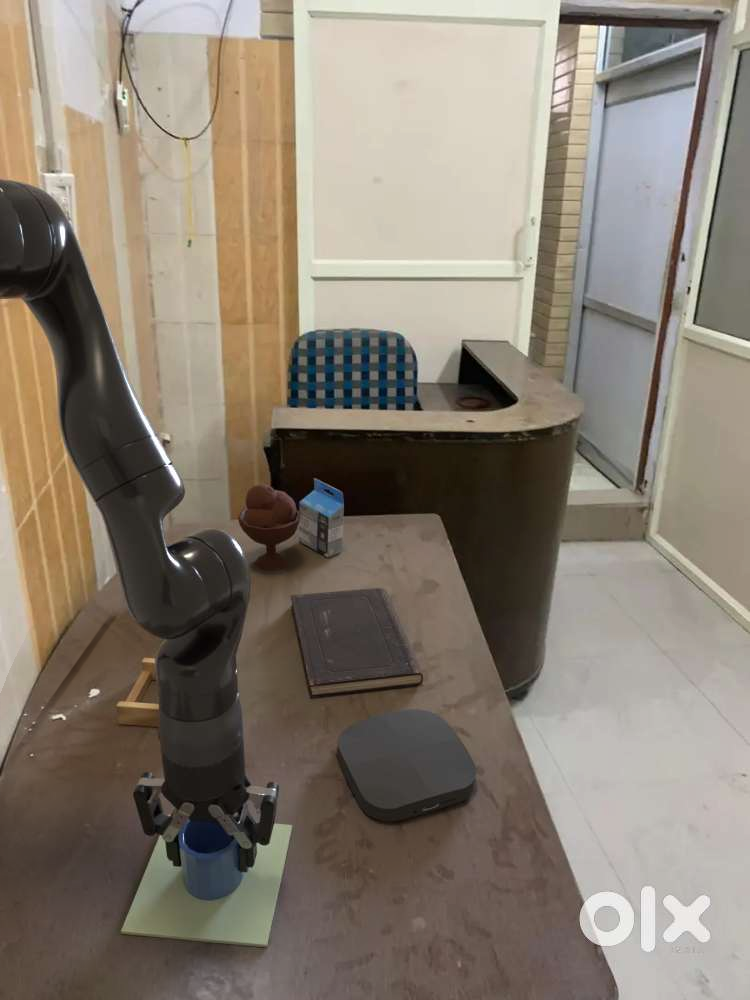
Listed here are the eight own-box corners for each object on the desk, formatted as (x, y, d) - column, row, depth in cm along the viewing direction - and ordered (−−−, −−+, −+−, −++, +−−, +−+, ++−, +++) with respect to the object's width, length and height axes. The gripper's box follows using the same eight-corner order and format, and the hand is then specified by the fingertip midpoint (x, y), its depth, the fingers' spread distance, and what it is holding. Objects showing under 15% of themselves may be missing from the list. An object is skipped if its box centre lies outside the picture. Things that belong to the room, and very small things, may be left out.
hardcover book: (309, 698, 104) (309, 684, 103) (290, 607, 124) (290, 595, 123) (422, 685, 107) (423, 672, 106) (386, 598, 128) (386, 587, 127)
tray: (118, 724, 98) (116, 705, 97) (146, 674, 107) (144, 657, 106) (211, 731, 97) (210, 713, 96) (231, 681, 107) (230, 663, 105)
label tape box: (297, 541, 145) (297, 482, 140) (314, 535, 148) (314, 477, 142) (327, 559, 139) (327, 498, 134) (344, 552, 142) (345, 492, 137)
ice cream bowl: (256, 583, 131) (253, 504, 124) (231, 555, 139) (227, 480, 133) (311, 568, 136) (311, 492, 130) (284, 542, 144) (282, 469, 138)
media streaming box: (328, 743, 96) (328, 725, 95) (432, 717, 101) (433, 699, 100) (370, 832, 84) (371, 812, 83) (486, 797, 89) (489, 778, 88)
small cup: (174, 897, 75) (169, 854, 73) (193, 846, 81) (189, 804, 79) (236, 903, 75) (233, 860, 73) (250, 850, 81) (248, 809, 78)
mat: (121, 933, 72) (120, 931, 72) (168, 817, 85) (168, 814, 85) (266, 947, 71) (266, 944, 71) (292, 827, 84) (292, 824, 84)
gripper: (286, 713, 73) (289, 838, 80) (140, 702, 74) (155, 826, 81) (270, 770, 67) (275, 901, 74) (110, 758, 67) (130, 888, 74)
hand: (212, 862), depth 77 cm, fingers closed on small cup, 6 cm apart
